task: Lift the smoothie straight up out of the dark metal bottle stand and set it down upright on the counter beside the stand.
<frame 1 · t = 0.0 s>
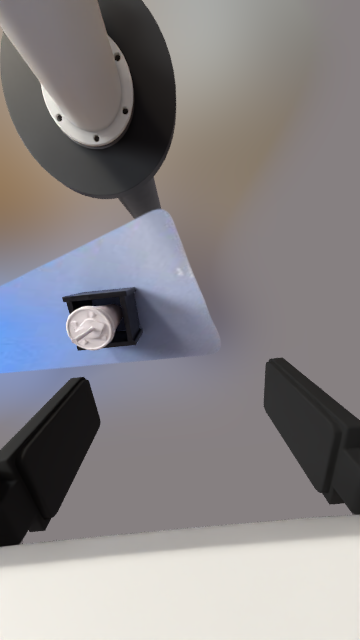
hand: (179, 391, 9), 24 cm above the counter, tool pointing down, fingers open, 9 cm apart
bottle stand: (114, 313, 32), on the counter
smoothie: (114, 312, 33), resting in bottle stand
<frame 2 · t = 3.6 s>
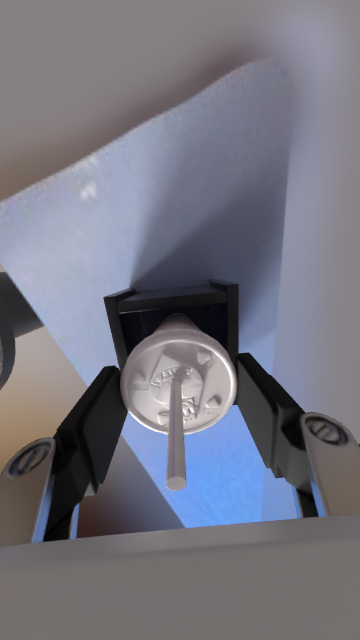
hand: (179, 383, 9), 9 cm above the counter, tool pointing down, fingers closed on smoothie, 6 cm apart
bottle stand: (177, 329, 18), on the counter
smoothie: (177, 329, 18), resting in bottle stand, touching gripper
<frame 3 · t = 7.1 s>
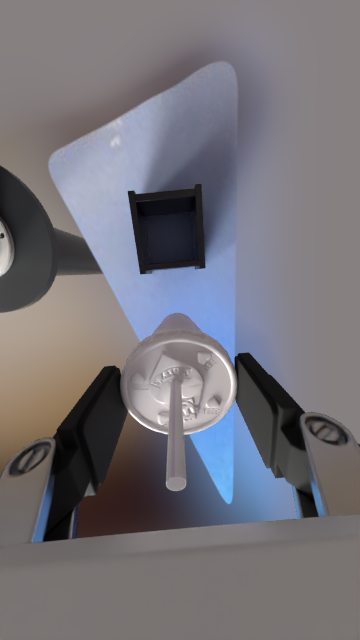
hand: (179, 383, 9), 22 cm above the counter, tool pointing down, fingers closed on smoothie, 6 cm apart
bottle stand: (170, 240, 27), on the counter
smoothie: (177, 329, 18), point 13 cm above the counter, touching gripper
when the fingers open (9 cm above the counter, at t = 10.5 s): smoothie stays where it is, on the counter.
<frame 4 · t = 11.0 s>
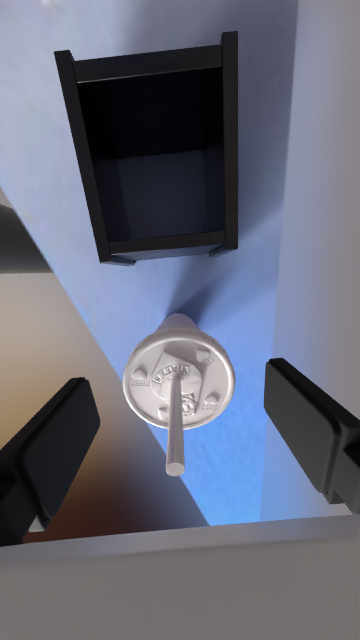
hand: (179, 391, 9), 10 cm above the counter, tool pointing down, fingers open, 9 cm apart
bottle stand: (165, 204, 15), on the counter
smoothie: (178, 328, 19), on the counter
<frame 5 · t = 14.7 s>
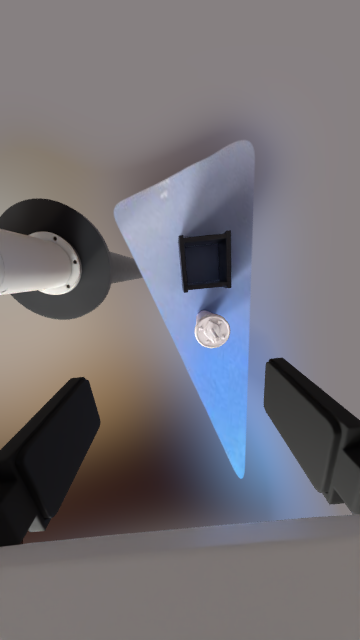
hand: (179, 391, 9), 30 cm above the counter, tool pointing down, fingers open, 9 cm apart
bottle stand: (201, 264, 36), on the counter
smoothie: (204, 317, 39), on the counter
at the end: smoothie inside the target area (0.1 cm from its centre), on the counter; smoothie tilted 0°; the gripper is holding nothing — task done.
